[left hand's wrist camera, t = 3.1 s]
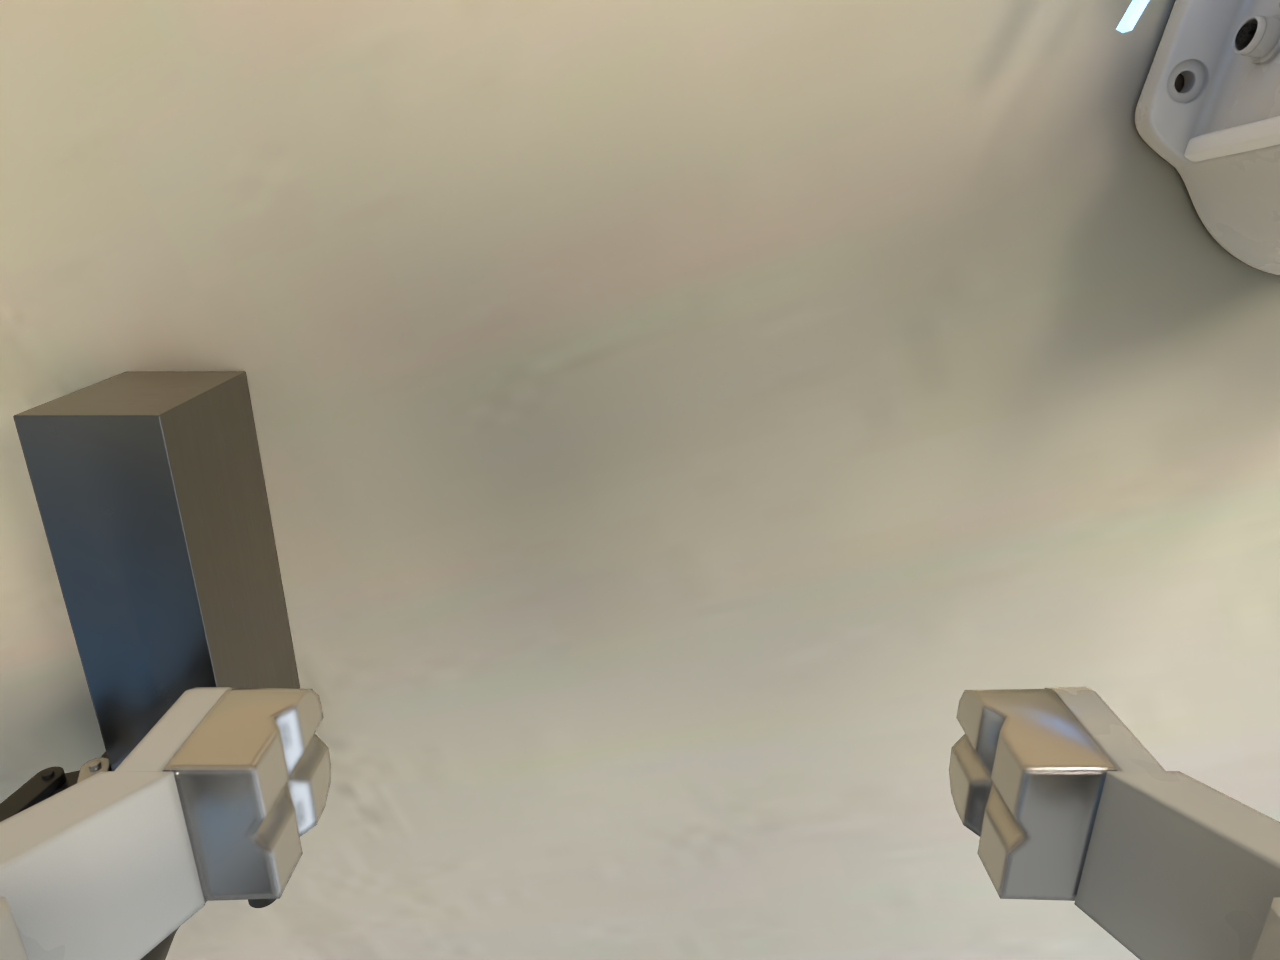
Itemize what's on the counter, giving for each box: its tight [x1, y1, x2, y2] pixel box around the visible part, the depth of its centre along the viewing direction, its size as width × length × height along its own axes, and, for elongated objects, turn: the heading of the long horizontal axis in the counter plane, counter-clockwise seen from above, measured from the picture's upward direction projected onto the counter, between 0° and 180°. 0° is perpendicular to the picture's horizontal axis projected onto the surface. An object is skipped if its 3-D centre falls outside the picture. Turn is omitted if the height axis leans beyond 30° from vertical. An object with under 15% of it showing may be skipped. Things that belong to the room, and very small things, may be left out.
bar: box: [13, 372, 300, 771], centre depth 41 cm, size 22×6×8 cm, turn 0°
